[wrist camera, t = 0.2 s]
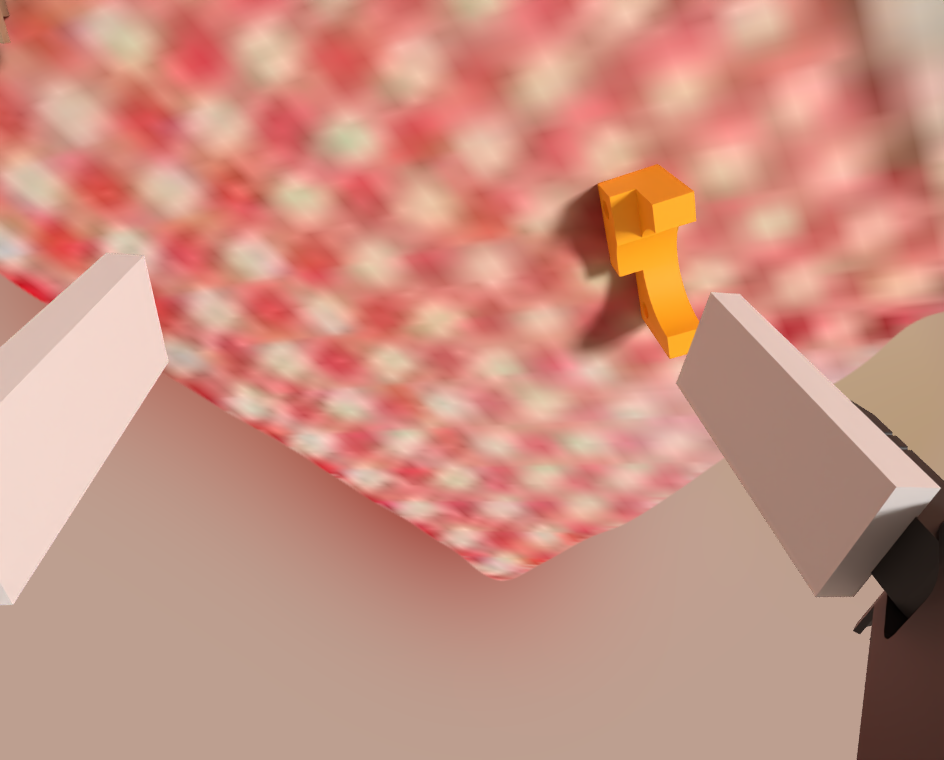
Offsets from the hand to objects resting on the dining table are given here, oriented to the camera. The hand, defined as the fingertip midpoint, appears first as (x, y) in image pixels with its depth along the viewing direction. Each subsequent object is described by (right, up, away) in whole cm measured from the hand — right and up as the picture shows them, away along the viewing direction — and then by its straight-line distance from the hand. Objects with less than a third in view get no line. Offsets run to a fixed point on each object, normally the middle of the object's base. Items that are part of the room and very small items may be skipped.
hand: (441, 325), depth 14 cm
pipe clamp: (+13, +9, +30) cm, 34 cm away
